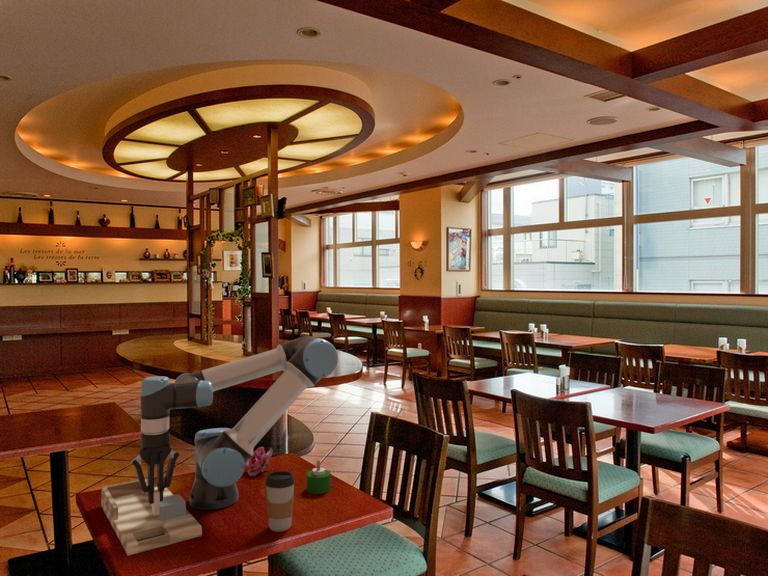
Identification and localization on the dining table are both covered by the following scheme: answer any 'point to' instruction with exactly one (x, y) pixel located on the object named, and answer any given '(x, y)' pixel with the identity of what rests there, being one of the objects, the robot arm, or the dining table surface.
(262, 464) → the flower
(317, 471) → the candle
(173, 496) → the slate block
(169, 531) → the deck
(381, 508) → the dining table surface
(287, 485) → the coffee cup
